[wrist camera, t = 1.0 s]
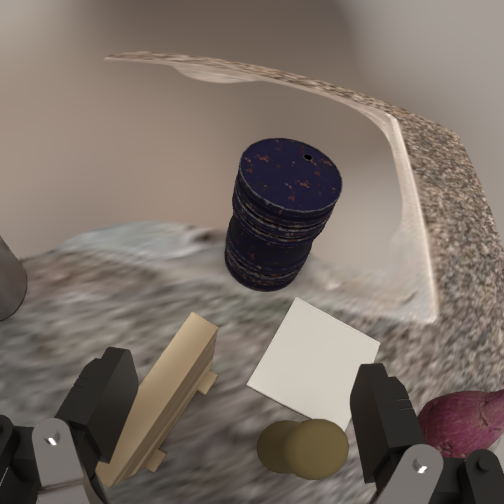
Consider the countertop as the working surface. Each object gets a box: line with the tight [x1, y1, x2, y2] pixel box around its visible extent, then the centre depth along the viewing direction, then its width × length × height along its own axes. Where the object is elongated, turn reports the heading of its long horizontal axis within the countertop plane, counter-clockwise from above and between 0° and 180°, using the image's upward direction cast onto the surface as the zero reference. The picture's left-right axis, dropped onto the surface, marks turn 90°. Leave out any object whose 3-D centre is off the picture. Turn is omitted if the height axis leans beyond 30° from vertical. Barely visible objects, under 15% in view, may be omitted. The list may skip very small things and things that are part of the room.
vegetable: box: [417, 389, 504, 458], centre depth 27 cm, size 10×10×15 cm
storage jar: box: [225, 138, 343, 292], centre depth 35 cm, size 10×10×15 cm
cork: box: [257, 419, 349, 480], centre depth 24 cm, size 6×6×11 cm
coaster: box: [246, 297, 380, 431], centre depth 34 cm, size 12×12×1 cm
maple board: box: [96, 312, 218, 488], centre depth 23 cm, size 4×13×14 cm, turn 151°
